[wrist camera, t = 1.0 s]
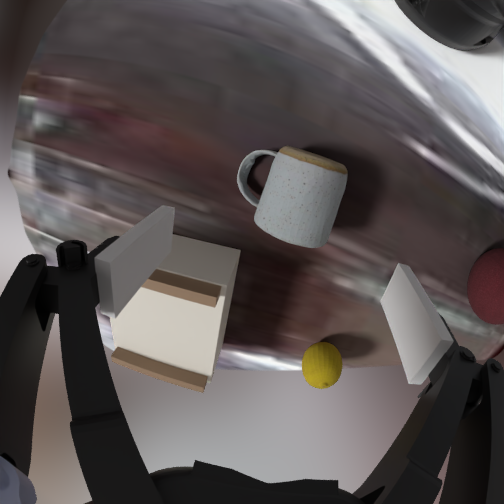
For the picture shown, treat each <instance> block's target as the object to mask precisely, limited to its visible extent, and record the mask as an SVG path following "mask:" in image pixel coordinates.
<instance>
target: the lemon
mask: <svg viewBox="0 0 504 504" xmlns="http://www.w3.org/2000/svg"><path fill="white" fill-rule="evenodd" d="M302 371H303V375H304V377H305V379H306V381H307V382H308V383H309V384H310V385H311V386H313V387H315V388H320V389H323V388H328V387H330V386H332V385H334V384H335V383H336V382H337V381H338V379H339V377H340V375H341V371H342V358H341V355H340V353H339V351H338V349H337V348H336V347H335V346H334V345H332V344H330V343H327V342H318V343H315V344H313V345H311V346H310V347H309V348H308V349H307V350H306V352H305V353H304V356H303V359H302Z"/></svg>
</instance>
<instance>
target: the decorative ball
mask: <svg viewBox="0 0 504 504" xmlns="http://www.w3.org/2000/svg"><path fill="white" fill-rule="evenodd" d="M467 293H468V299H469V303H470V305H471V307H472V309H473V311H474V312H475V314H476V315H477V316H478V317H479V318H480V319H482V320H483V321H485V322H487V323H490V324H495V325H496V324H504V248H497V249H492V250H490V251H487V252H486V253H484V254H483V255H482V256H480V257H479V258H478V260H477V261H476V262H475V264H474V265H473V267H472V269H471V271H470V275H469V278H468V283H467Z"/></svg>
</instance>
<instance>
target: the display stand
mask: <svg viewBox="0 0 504 504" xmlns="http://www.w3.org/2000/svg"><path fill="white" fill-rule="evenodd" d="M240 252H241V250H238V249H234V248H230V247H225V246H221V245H217V244H213V243H208V242H204V241H200V240H196V239H192V238H187V237H183V236H179V235H175V234H172V247H171V252H170V253H169V254H168V255H167V257H166V258H165V259H164V260H163V261H162V262H161V264H160V265H159V266H158V267H157V268H156V269H155V271H154V272H153V273H152V274H151V275H150V277H149V278H148V279H147V280H146V281H145V283H144V284H143V285H142V286H141V287H140V289H139V290H138V291H137V292H136V294H135V295H134V296H133V297H132V299H131V300H130V301H129V302H128V304H127V305H126V306H125V307H124V309H123V310H122V311H121V312H120V314H119V315H118V316H117V317H116V319H115V318H112V317H110V321H111V328H112V334H113V340H114V345H115V351H114V352H113V354H112V356H111V358H112V361H113V362H114V363H117V364H119V365H122V366H124V367H127V368H129V369H132V370H135V371H137V372H140V373H143V374H146V375H148V376H151V377H154V378H157V379H160V380H163V381H166V382H169V383H172V384H175V385H178V386H181V387H185V388H188V389H191V390H195V391H199V392H202V393H203V392H204V389H205V386H206V383H207V382H208V383H211V380H212V377H213V374H214V370H215V367H216V364H217V361H218V358H219V354H220V351H221V348H222V345H223V341H224V335H225V330H226V325H227V319H228V314H229V309H230V304H231V298H232V293H233V288H234V283H235V278H236V273H237V268H238V262H239V257H240Z"/></svg>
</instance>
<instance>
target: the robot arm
mask: <svg viewBox="0 0 504 504" xmlns="http://www.w3.org/2000/svg"><path fill="white" fill-rule="evenodd" d="M395 2H396V3H397V5H398V6H399V8H400V9H401V10H402V11H403V13H404V14H405V15H406V16H407V17H408V18H409V19H410V20H411V21H412V22H413V23H414V24H415V25H416V26H417V27H418V28H419V29H421V30H422V31H423V32H424V33H426V34H427V35H428V36H430V37H431V38H433V39H435V40H436V41H438V42H440V43H442V44H444V45H446V46H449V47H452V48H455V49H459V50H472V49H476V48H480V47H483V46H485V45H487V44H488V43H490V42H491V41H492V40H493V38H494V37H495V36H496V35H497V34H498V33H499V31H500V30H501V29H502V28H503V26H504V0H395ZM174 213H175V208H174V207H169V206H164V205H162V206H161V207H160V208H158V209H157V210H155V211H154V212H153V213H151V214H150V215H148V216H147V217H146V218H144V219H143V220H142V221H140V222H139V223H138V224H136V225H135V226H134V227H132V228H131V229H130V230H129V231H127V232H126V233H125V234H123V235H122V236H121V237H119V236H114V237H111V238H108V239H107V240H105V241H104V242H103V243H101V245H99V246H97V247H96V248H95V249H94V250H92V251H91V252H90V253H88V254H87V245H86V243H84V242H83V241H79V240H69V241H65V242H63V243H61V244H59V245H58V246H57V248H56V253H57V260H58V266H59V267H55V266H47V264H46V259H45V257H44V256H43V255H40V254H31V255H28V256H26V257H24V258H23V259H22V260H21V261H20V262H19V264H18V266H17V267H16V269H15V271H14V273H13V275H12V276H11V278H10V280H9V281H8V283H7V285H6V287H5V289H4V291H3V292H2V294H1V296H0V504H35V503H36V500H37V497H36V494H35V489H34V486H33V484H32V482H31V481H30V479H29V478H28V474H29V468H30V462H31V450H32V435H33V434H32V433H33V423H34V413H35V405H36V398H37V391H38V385H39V380H40V374H41V369H42V364H43V359H44V354H45V350H46V346H47V341H48V338H49V334H50V330H51V326H52V323H53V319H54V316H55V313H56V314H59V327H60V341H61V351H62V360H63V368H64V376H65V383H66V389H67V394H68V400H69V405H70V410H71V415H72V421H71V422H70V429H71V434H72V438H73V442H74V446H75V449H76V453H77V456H78V460H79V463H80V466H81V469H82V472H83V475H84V478H85V481H86V484H87V487H88V490H89V492H90V495H91V497H92V501H90V502H87V503H85V504H433V503H434V501H435V499H436V497H437V495H438V493H439V491H440V489H441V486H442V480H440V479H439V478H437V477H438V474H439V472H440V470H441V468H442V466H443V463H444V461H445V459H446V457H447V454H448V452H449V449H450V447H451V450H450V456H449V462H448V467H447V472H446V477H445V481H444V486H443V490H442V494H441V498H440V502H439V504H504V370H503V367H502V366H501V364H500V363H499V362H498V361H496V360H495V359H492V358H490V359H488V360H487V361H486V363H485V364H484V365H481V364H478V363H476V358H475V356H474V355H473V353H472V352H471V351H470V350H468V349H467V348H465V347H462V346H459V345H458V343H457V341H456V340H455V338H454V336H453V334H452V332H450V329H449V327H448V326H447V323H446V322H445V320H444V318H443V317H442V316H441V315H440V314H439V313H438V312H437V310H436V309H435V307H434V305H433V303H432V302H431V300H430V299H429V297H428V295H427V294H426V292H425V290H424V289H423V287H422V286H421V284H420V282H419V281H418V279H417V278H416V276H415V275H414V273H413V272H412V270H411V269H410V267H409V266H407V265H403V264H400V263H398V265H397V267H396V269H395V271H394V274H393V276H392V278H391V280H390V282H389V284H388V287H387V289H386V291H385V293H384V295H383V297H382V299H381V301H380V302H381V304H382V307H383V310H384V312H385V315H386V318H387V320H388V323H389V326H390V328H391V331H392V334H393V337H394V340H395V343H396V345H397V348H398V351H399V354H400V357H401V360H402V364H403V367H404V370H405V373H406V376H407V379H408V383H409V384H422V383H423V381H424V380H425V379H426V378H427V376H428V375H429V378H430V381H431V382H430V383H429V384H428V385H427V386H426V388H425V389H424V390H423V391H422V392H421V393H420V394H419V396H418V398H419V397H421V398H420V399H419V401H418V403H417V405H416V406H415V408H414V410H413V412H412V414H411V415H410V417H409V419H408V420H407V422H406V424H405V425H404V427H403V428H402V430H401V432H400V433H399V435H398V436H397V438H396V439H395V441H394V442H393V444H392V445H391V447H390V448H389V450H388V451H387V453H386V454H385V455H384V457H383V458H382V460H381V461H380V462H379V464H378V465H377V466H376V468H375V469H374V470H373V472H372V473H371V474H370V476H369V477H368V478H367V479H366V481H365V482H364V483H363V485H361V487H360V488H359V489H357V490H356V491H355V492H354V493H353V494H351V493H349V492H347V491H345V490H342V489H339V488H338V480H312V479H303V480H296V481H289V482H280V483H265V482H263V481H260V480H257V479H255V478H252V477H250V476H247V475H245V474H242V473H240V472H238V471H235V470H233V469H230V468H225V467H221V466H217V465H212V464H208V463H204V462H200V461H197V460H195V462H194V466H193V467H173V468H166V469H162V470H158V471H155V472H153V473H150V474H149V473H148V471H147V469H146V466H145V464H144V462H143V460H142V458H141V456H140V453H139V451H138V448H137V446H136V444H135V441H134V439H133V437H132V434H131V432H130V429H129V426H128V423H127V421H126V418H125V416H124V413H123V411H122V408H121V405H120V402H119V400H118V396H117V393H116V390H115V387H114V384H113V380H112V377H111V373H110V370H109V366H108V363H107V359H106V355H105V351H104V347H103V343H102V338H101V334H100V329H99V325H98V320H97V315H96V310H95V307H96V306H97V305H98V304H99V303H100V310H101V313H102V314H104V315H107V316H110V317H112V318H115V319H116V317H117V316H118V315H119V314H120V312H121V311H122V310H123V309H124V307H125V306H126V305H127V304H128V302H129V301H130V300H131V299H132V297H133V296H134V295H135V294H136V292H137V291H138V290H139V289H140V287H141V286H142V285H143V284H144V283H145V281H146V280H147V279H148V278H149V277H150V275H151V274H152V273H153V272H154V271H155V269H156V268H157V267H158V266H159V265H160V264H161V262H162V261H163V260H164V259H165V258H166V257H167V255H168V254H169V253H170V252H171V247H172V234H173V223H174ZM479 403H480V404H479Z"/></svg>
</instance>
